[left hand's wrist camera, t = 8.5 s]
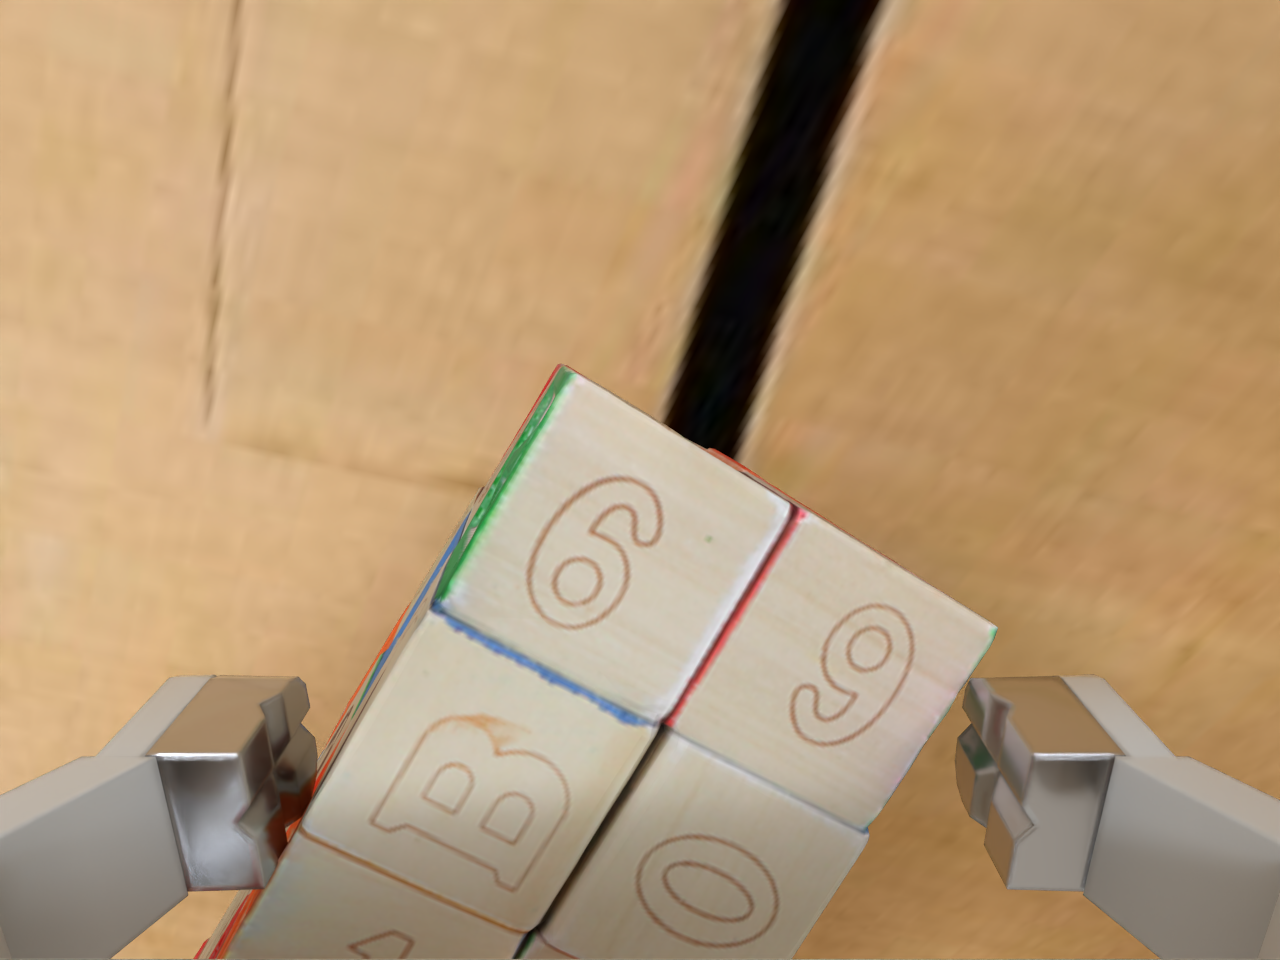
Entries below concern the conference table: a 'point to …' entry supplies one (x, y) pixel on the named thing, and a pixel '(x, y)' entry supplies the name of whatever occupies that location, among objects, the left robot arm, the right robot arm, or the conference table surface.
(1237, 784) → the left robot arm
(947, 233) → the conference table surface
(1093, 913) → the conference table surface
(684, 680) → the stack of blocks
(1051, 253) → the conference table surface
